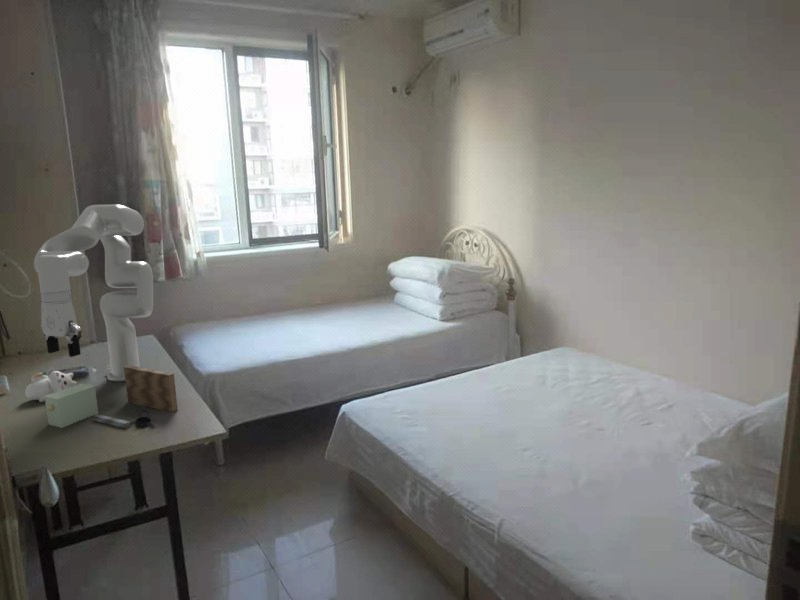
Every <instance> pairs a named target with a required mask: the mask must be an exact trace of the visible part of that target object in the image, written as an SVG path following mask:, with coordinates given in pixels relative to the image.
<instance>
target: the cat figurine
mask: <svg viewBox="0 0 800 600" xmlns="http://www.w3.org/2000/svg"><path fill="white" fill-rule="evenodd" d="M73 377H74V373H73V372H68V373H64V372H61V371H59V370H53V371H51V372H50V374H48V375H47V371H40V372H39V373H36V374H34V375H32V376H31V379H30V380H31V383H29V384H28V385H27V386H26V388H25V390H24V395H25V397H26V398H28V399H29V400H33V401H39V403H44V402H45V397H44V396H47V395H50V394H52V393H55V392H58V391H61V390H64V389H67V388H70V387H73V386H76V385H78V382H77V381H75V380H72V379H73Z"/></svg>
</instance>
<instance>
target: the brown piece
mask: <svg viewBox="0 0 800 600" xmlns="http://www.w3.org/2000/svg"><path fill="white" fill-rule="evenodd" d="M124 373H125V381H124V382H125V386H126V387H125V388H126V389H125V390H126V396H127V397H126V398H127V403H128V404H134V405H139V406H143V407H148V408H153V409H157V410H162V411H166V412H170V413H175V412H176V411H178V402H177V401H178V400H177V399H178V398H177V394H176V383H175V382H176V380H175V373H173V372H168V371H162V370H157V369H151V368H145V367H141V366H140V367H135V366H130V365H129V366H126V367H124ZM92 417H93V421H95V422H98V423H103V424H106V425H111V426H115V427H118V428H122V429H129V428H131V421H128V420H123V419H120V418H115V417H111V416H108V415H103V414H99V413H98V414H95V415H93V416H92Z"/></svg>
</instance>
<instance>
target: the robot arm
mask: <svg viewBox="0 0 800 600" xmlns="http://www.w3.org/2000/svg"><path fill="white" fill-rule="evenodd" d="M144 228H145V221H144V217H143V216H142V215H141V213H140V212H139V211H137V210H135V209H132V208H130V207H128V206H126V205H122V204H119V203H117V204H116V203H115V204H92V205H88V206H86V207H85V209H83V211H82V213H80V215H79V217H78V218H77V219H76V221H75V222H74V223H73V224H72V227H70V228H69V229H67V230H65V231H62V232H60V233H59V234H56V235H54V236H52V237H51V238H49V239H48V240H46V241H45V242H44V243H43V244H42V245H41V247H40V248H39V249H38V251H37V253H36V254H35V256H34V261H33V267H34V270H35V272H36V274H37V277H38V281H39V282H38V283H39V289H40V297H41V305H40V316H41V319H40V322H41V323H40V325H39V326H40V327H41V330H42V333H43V335H44V339H45V342H46V347H47V353H48V354H52V353H56V352H59V351H60V345H59V344H60V343H59V338H65V339H66V341H68V343H67V349H68V356H69V357H70V358H72V357H77V356H80V355H81V345H80V342H81V338H82V332H83V329H82V328H81V327H80V326H79V325H78V321H77V316H76V312H75V308H74V303H73V302H72V301H73V297H72V292H71V283H70V277H78V276H81V275H83V274H84V273H86V272H87V271H88V269H89V266H90V265H89V264H90V261H89V258H88V256H87V255H86V254H85V253H83V252H84V251H86V250H90V249H92V248H94V247H95V246H96V245H97V244H98V243H99V240H100V242H101V244H102V246H103V248H104V249H103V250H104V280H105V283H106V285H107V286H108V287H110V288H113V289H123V288H124V289H125V288H126V289H130V288H136V291H135V290H134V291H133V290H132V291H125V290H124V291H111V292H107V293H105V294H104V295H102V296H101V298H100V300H99V307H100V311H101V313H102V317H103V320H104V325H105V331H106V337H107V338H106V339H107V345H108V346H107V348H108V353H109V354H108V355H109V364H107V365H106V367H105V368H106V369H108V370H109V371H110V372H109V373H108V374H107V375H106V376H107V380H108V381H112V382H126V381H125V373H124V367H126V366H129V365H130V366H135V367H141V366H140V359H139V350H138V342H137V341H138V339H137V333H136V332H137V331H136V327H135V325H134V323H133V322H132V321H131V320H130V319H135V318H137V319H138V318H147V317H149V316H151V314H152V313H153V310H154V274H153V269H152V267H151V265H150V264H149V263H148V262H147V261H139V260H137V261H132V249H131V246H130V244H129V243H128V242H127V240H126V239H125V238H124V237H126V236H128V237H129V236H130V237H131V236H132V237H133V236H138V235H140V234H141V233H143V231H144ZM123 236H124V237H123Z"/></svg>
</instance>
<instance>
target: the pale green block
mask: <svg viewBox="0 0 800 600" xmlns="http://www.w3.org/2000/svg"><path fill="white" fill-rule="evenodd" d="M44 397H45V401H44V402H45V403H44V404H45V410H46V414H47V415H46V416H47V423H48V426H49V425H50V426H53V427H56V428H60V429H63V428H65V427H68V426H71V425H72V424H75V423H77V421H78V422H80V421H82V419H83V420H85V419H87V417H88V418H90V417H93V416H94V415H97V414H99V406H98V400H97V392H96V386H95V385H92V384H86V383H79V384H77V385H76V386H73V387H70V388H67V389H64V390H61V391H58V392H55V393H52V394H50V395H47V396H44ZM79 420H80V421H79Z"/></svg>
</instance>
